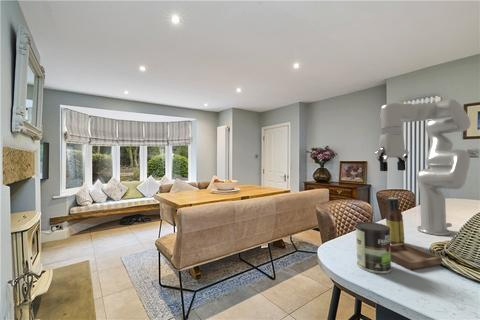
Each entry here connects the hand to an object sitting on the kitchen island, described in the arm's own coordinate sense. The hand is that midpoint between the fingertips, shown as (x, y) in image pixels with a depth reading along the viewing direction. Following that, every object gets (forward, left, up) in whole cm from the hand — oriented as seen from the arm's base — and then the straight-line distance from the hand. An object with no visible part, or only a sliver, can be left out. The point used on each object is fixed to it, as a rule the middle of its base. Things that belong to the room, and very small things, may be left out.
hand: (392, 170), depth 96 cm
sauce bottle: (0, 0, -32) cm, 32 cm away
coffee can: (+26, +14, -32) cm, 44 cm away
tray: (+10, +13, -32) cm, 36 cm away
